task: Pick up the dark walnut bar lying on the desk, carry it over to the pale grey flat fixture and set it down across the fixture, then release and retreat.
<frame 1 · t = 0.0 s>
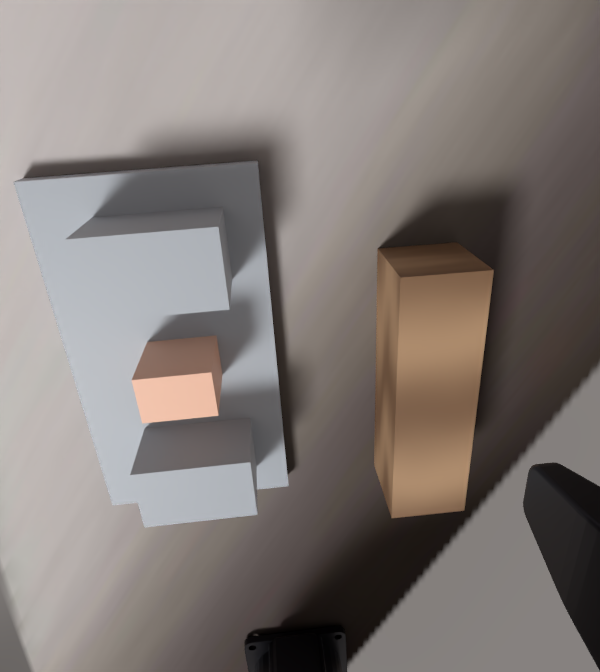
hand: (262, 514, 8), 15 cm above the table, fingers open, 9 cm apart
pale grey flat fixture: (176, 351, 23), on the table
walnut bar: (409, 362, 25), on the table
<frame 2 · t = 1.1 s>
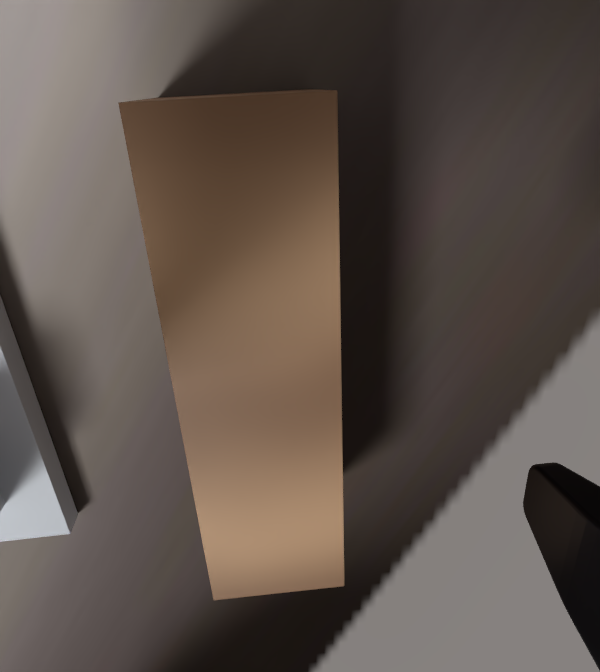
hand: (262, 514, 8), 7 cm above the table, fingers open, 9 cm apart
walnut bar: (258, 326, 14), on the table
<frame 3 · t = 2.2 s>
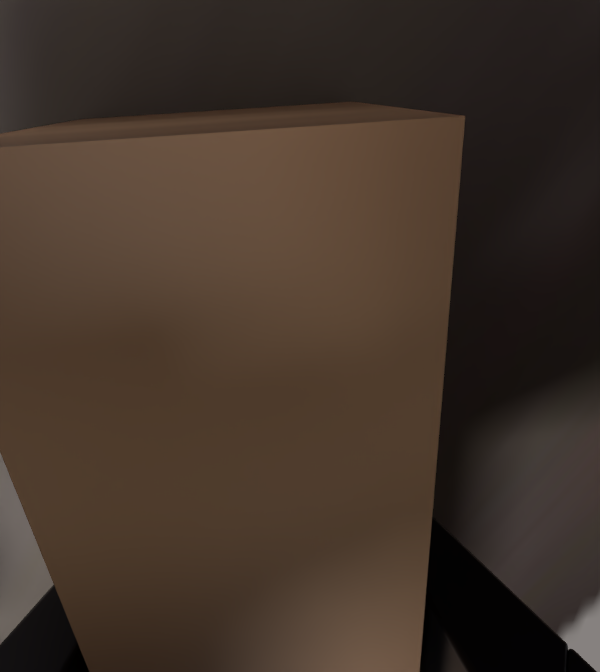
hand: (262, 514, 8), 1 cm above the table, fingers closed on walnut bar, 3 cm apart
walnut bar: (260, 465, 9), on the table, touching gripper
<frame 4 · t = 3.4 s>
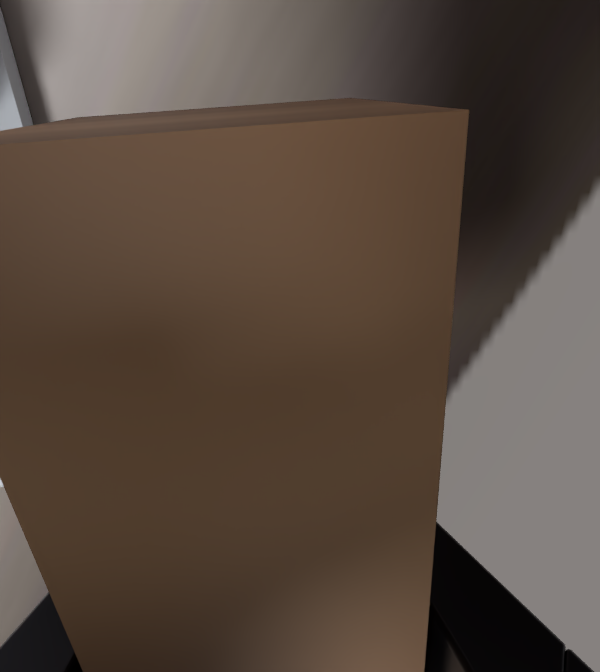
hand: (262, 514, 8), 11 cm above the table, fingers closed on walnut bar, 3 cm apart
walnut bar: (261, 468, 9), point 10 cm above the table, touching gripper
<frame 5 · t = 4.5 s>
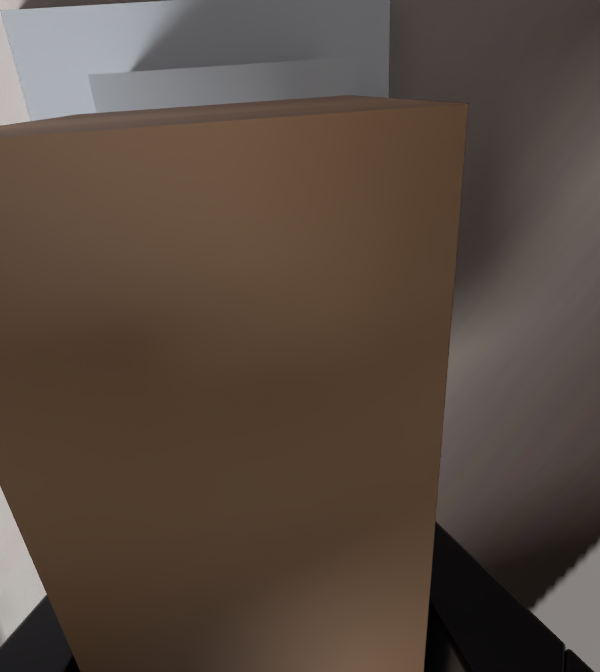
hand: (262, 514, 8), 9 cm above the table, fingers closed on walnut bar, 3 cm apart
pale grey flat fixture: (239, 303, 16), on the table
walnut bar: (260, 467, 9), point 8 cm above the table, touching gripper
when the fingers open (6 cm above the table, at t = 5.2 s): walnut bar stays where it is, resting on pale grey flat fixture.
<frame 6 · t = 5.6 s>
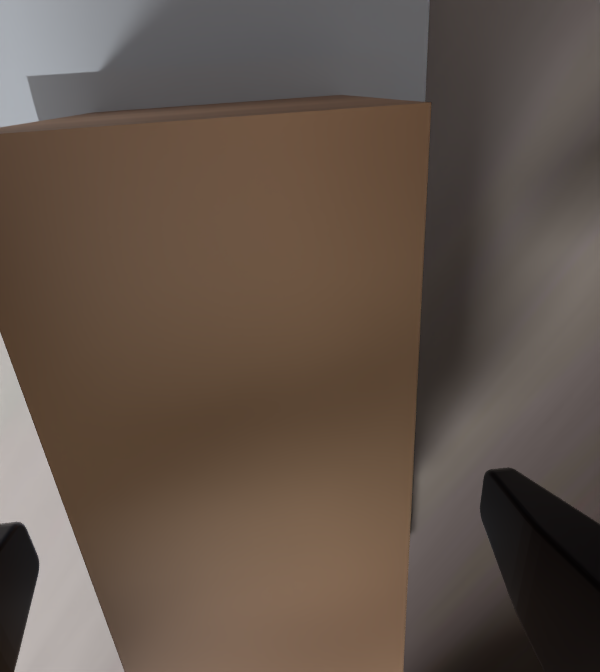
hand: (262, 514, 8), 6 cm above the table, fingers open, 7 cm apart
pale grey flat fixture: (238, 349, 13), on the table
walnut bar: (260, 442, 10), point 4 cm above the table, touching pale grey flat fixture
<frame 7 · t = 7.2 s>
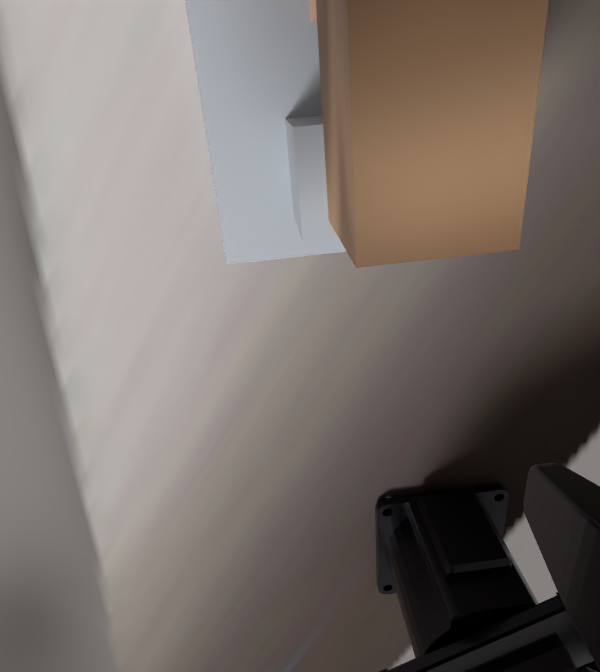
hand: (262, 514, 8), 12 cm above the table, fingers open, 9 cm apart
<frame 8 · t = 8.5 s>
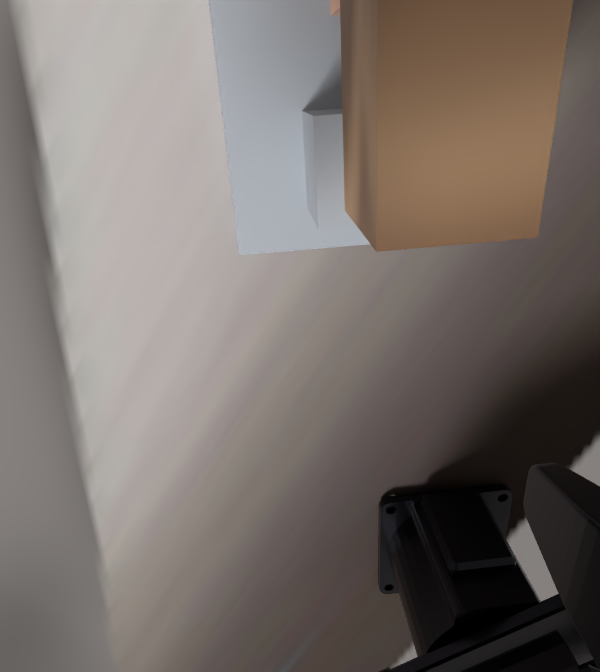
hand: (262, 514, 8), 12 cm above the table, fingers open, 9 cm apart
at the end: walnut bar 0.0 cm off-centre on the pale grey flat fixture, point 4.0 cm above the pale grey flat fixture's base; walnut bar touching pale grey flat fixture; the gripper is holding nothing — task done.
